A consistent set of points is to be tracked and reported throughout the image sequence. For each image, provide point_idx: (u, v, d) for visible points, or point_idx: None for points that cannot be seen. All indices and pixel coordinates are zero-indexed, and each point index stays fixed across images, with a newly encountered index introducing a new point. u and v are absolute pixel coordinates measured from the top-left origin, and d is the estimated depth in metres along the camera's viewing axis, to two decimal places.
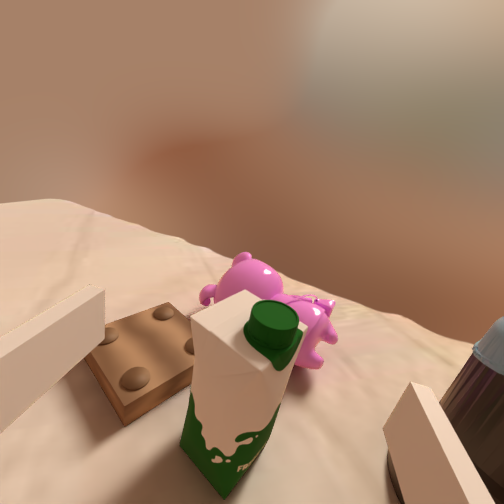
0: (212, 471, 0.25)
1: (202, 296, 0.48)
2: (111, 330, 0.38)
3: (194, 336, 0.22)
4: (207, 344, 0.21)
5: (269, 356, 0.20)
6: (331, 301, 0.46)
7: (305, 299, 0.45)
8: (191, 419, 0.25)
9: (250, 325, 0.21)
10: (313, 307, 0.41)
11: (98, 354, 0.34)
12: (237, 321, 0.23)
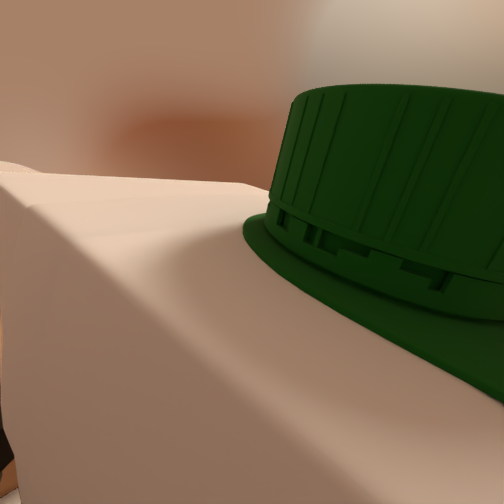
0: None
1: None
2: None
3: None
4: (12, 292, 0.03)
5: (488, 377, 0.02)
6: None
7: None
8: None
9: (288, 181, 0.03)
10: None
11: None
12: (215, 205, 0.05)
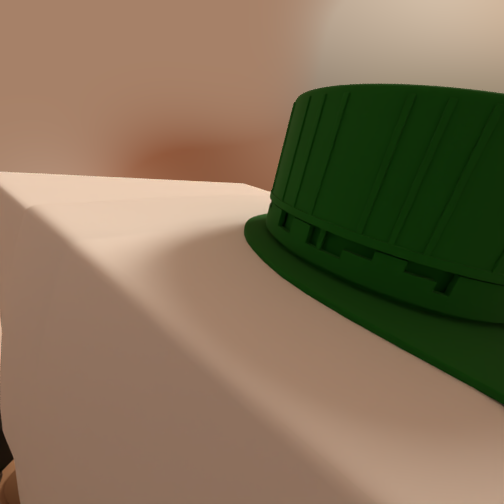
0: None
1: None
2: None
3: None
4: (11, 294, 0.03)
5: (498, 382, 0.02)
6: None
7: None
8: None
9: (290, 182, 0.03)
10: None
11: None
12: (216, 206, 0.05)
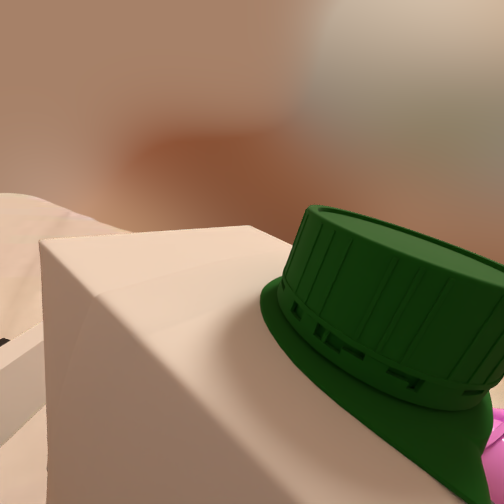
0: None
1: None
2: None
3: (47, 325, 0.05)
4: (77, 365, 0.04)
5: (444, 467, 0.03)
6: None
7: (500, 415, 0.21)
8: None
9: (302, 281, 0.04)
10: None
11: None
12: (235, 276, 0.06)
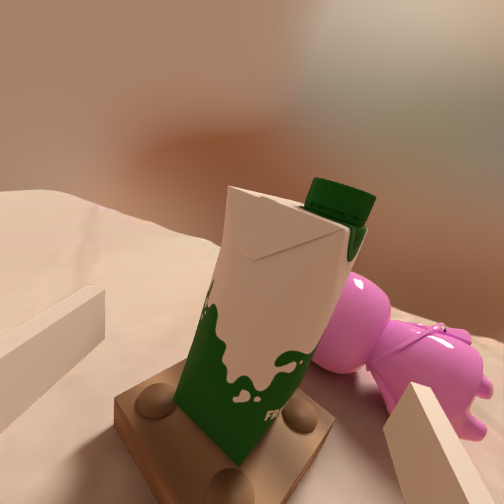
0: (229, 420, 0.18)
1: None
2: (165, 389, 0.23)
3: (232, 212, 0.16)
4: (255, 213, 0.15)
5: (345, 225, 0.14)
6: (465, 332, 0.32)
7: None
8: (207, 343, 0.18)
9: (313, 196, 0.16)
10: (463, 345, 0.28)
11: (152, 441, 0.19)
12: (289, 201, 0.17)
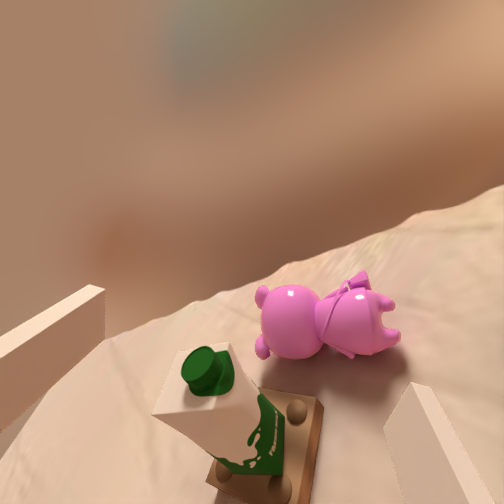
0: (259, 471, 0.32)
1: (260, 356, 0.47)
2: None
3: (165, 422, 0.27)
4: (175, 421, 0.26)
5: (213, 392, 0.26)
6: (362, 273, 0.44)
7: (341, 290, 0.44)
8: (218, 460, 0.31)
9: (189, 384, 0.27)
10: (355, 297, 0.40)
11: (234, 489, 0.35)
12: (182, 386, 0.28)
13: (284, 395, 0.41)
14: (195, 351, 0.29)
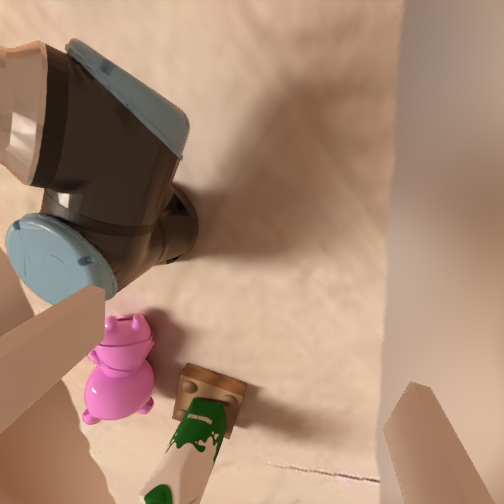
0: (220, 425, 0.52)
1: (150, 408, 0.58)
2: None
3: None
4: None
5: None
6: None
7: (95, 357, 0.50)
8: (215, 458, 0.49)
9: None
10: (104, 355, 0.48)
11: (231, 423, 0.58)
12: None
13: (179, 392, 0.57)
14: None
